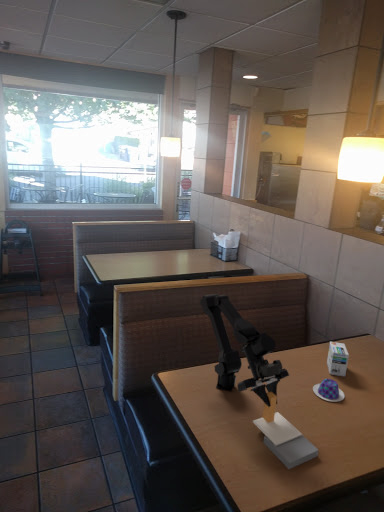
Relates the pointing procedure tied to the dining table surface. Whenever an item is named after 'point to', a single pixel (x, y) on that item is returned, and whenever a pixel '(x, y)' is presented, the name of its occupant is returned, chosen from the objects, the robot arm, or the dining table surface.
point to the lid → (275, 424)
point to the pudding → (328, 390)
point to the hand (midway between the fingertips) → (272, 405)
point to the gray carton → (293, 451)
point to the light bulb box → (337, 359)
